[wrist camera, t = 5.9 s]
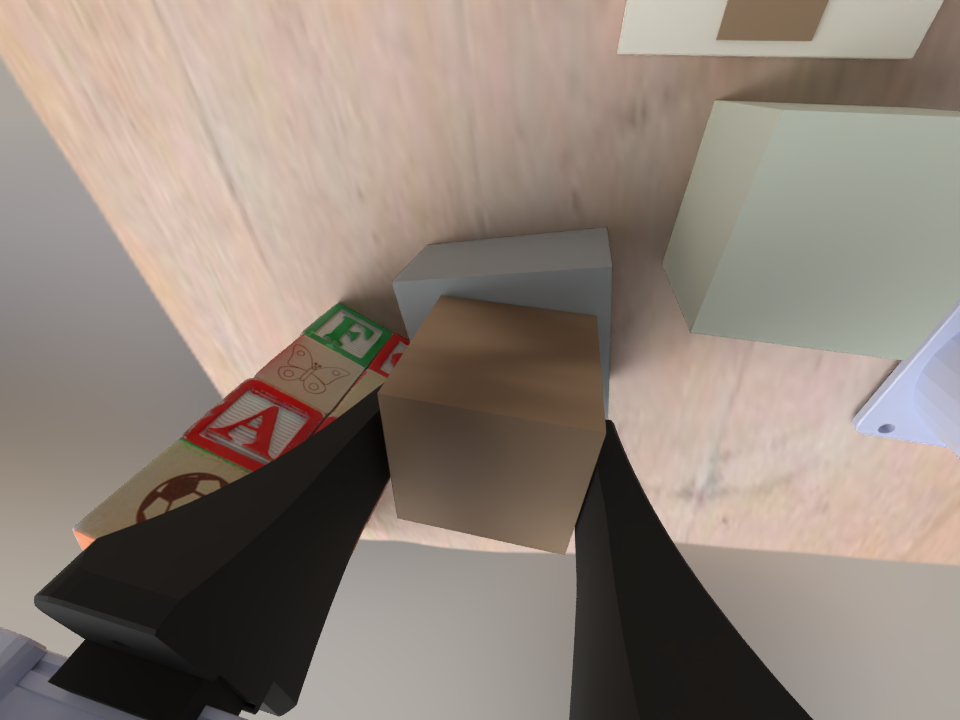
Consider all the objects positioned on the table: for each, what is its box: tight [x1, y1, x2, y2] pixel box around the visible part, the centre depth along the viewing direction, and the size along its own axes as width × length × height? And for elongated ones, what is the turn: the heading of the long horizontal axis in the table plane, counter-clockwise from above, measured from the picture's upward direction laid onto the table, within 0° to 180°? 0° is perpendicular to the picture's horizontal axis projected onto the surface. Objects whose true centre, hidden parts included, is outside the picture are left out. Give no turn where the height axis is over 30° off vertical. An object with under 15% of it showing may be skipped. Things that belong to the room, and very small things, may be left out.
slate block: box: [391, 227, 612, 420], centre depth 15 cm, size 7×7×4 cm
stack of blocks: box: [73, 303, 410, 555], centre depth 20 cm, size 21×6×12 cm, turn 153°
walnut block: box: [377, 295, 606, 555], centre depth 12 cm, size 5×5×5 cm
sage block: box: [662, 100, 960, 361], centre depth 10 cm, size 5×5×5 cm
